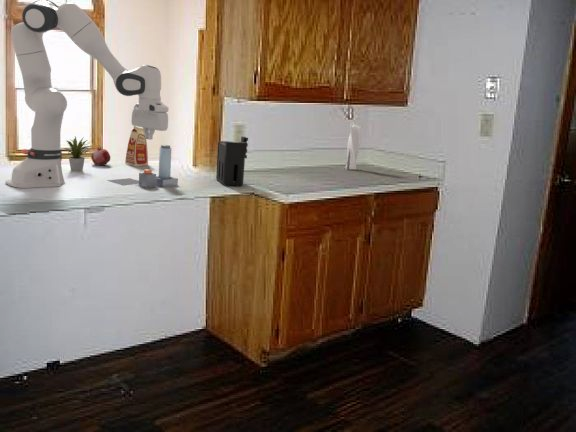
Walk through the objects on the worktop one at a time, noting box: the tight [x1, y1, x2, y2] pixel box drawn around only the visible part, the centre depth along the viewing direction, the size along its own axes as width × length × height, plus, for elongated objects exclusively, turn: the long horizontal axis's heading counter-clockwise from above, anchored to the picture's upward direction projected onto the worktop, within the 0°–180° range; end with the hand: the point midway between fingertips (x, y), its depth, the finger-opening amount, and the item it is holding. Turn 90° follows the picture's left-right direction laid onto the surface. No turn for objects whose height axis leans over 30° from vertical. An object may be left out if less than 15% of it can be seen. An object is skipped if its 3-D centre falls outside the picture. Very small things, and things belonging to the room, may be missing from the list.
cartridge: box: [158, 144, 172, 179], centre depth 256 cm, size 5×5×17 cm
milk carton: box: [124, 126, 149, 167], centre depth 308 cm, size 9×9×20 cm
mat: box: [106, 178, 139, 186], centre depth 257 cm, size 12×12×1 cm
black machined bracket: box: [215, 136, 249, 187], centre depth 279 cm, size 12×21×22 cm, turn 21°
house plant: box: [63, 135, 92, 173], centre depth 275 cm, size 14×14×16 cm
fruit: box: [90, 145, 111, 166], centre depth 297 cm, size 9×10×10 cm
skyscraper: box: [342, 121, 362, 171], centre depth 354 cm, size 8×8×28 cm
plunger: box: [143, 168, 153, 174], centre depth 250 cm, size 3×3×2 cm
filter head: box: [135, 172, 179, 190], centre depth 255 cm, size 16×10×6 cm, turn 140°
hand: (148, 139), depth 247 cm, fingers closed
